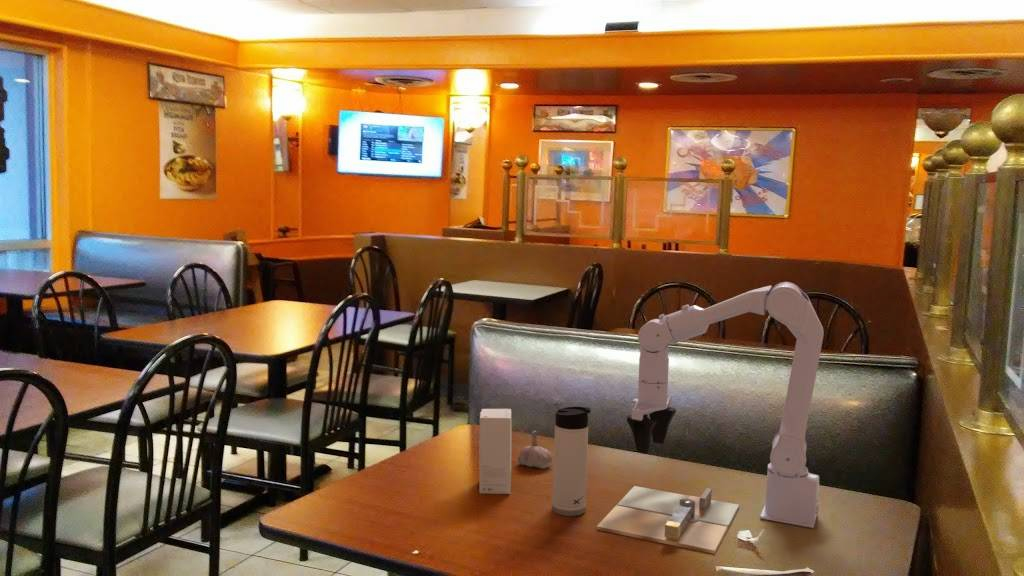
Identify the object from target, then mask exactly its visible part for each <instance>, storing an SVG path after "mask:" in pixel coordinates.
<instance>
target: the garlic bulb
mask: <svg viewBox="0 0 1024 576" xmlns="http://www.w3.org/2000/svg"><path fill="white" fill-rule="evenodd" d="M531 437H532V438H531V442H532V443H531V445H526V446H524V447H523V448H522V449H521V450H520V452H519V454H518V455H517V461H518V463H519V464H520V465H521V466H526V467H529V468H532V467H533V468H538V469H546V468H547V467H550V466H551V465H552V464H553V462H554V456H553V455H552V453H551V452H550V451H549V449H547V448H544V447H542V446H539V445H538V438H537V431H536V430H533V431H532V433H531Z"/></svg>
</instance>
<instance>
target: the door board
mask: <svg viewBox="0 0 1024 576" xmlns="http://www.w3.org/2000/svg"><path fill="white" fill-rule="evenodd" d="M712 491H713V490H712V488H710V487H706V488H705V490H704V491H703V492H702V494H701V495H700V496H694V495H688V494H683V493H682V494H681V493H675V492H670V491H664V490H658V489H653V488H648V487H642V486H636V485H634V486H633V487H632V488H631V489H629V491H628V492H627V493H626V494H625V495H623V498H621V500H619V502H618V503H616V505H615V506H614V507H613V508H612V509H611V510H610V511H609V513H608V514H606V516H605V517H604V518H602V520H601V521H600V522H599V523H598V524H597V526H596V530H599V531H602V532H608V533H611V534H612V533H613V534H618V535H622V536H627V537H632V538H635V539H641V540H645V541H651V542H656V543H661V544H666V545H671V546H674V547H680V548H684V549H689V550H695V551H699V552H703V553H709V554H712V555H715V554H716V552H717V551H718V548H719V546H720V545H721V543H722V540H723V539H724V537H725V535H726V533H727V531H728V529H729V527H730V526H731V523H732V521H733V520H734V518H735V516H736V514H737V512H738V510H739V509H740V504H738V503H737V504H736V503H731V502H726V501H720V500H714V499H712ZM681 499H691V500H694V501H695V516H694V517H693V518H691V519H690V521H689V523H688V524H687V526H686V527H685V529H684V530H683V532H682V533H681V535H680V536H679V538H678V540H676V539H671V538H666V537H665V524H666V523H667V521H668V520H669V519H670V518H671V516H672V515H673V513H674V512H675V511H676V509H677V508H678V507H679V505H680V500H681Z"/></svg>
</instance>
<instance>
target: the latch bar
mask: <svg viewBox="0 0 1024 576" xmlns="http://www.w3.org/2000/svg"><path fill="white" fill-rule="evenodd" d="M694 516H695V501H694V500H691V499H681V500H680V505H679V507H678V508H677V509H676V511H675V512H674V513H673V515H672V516H671V518H670V519H669V520H668V521H667V523H666V524H665V537H666V538H671V539H676V540H678V538H679V536H680V535H681V533H682V532H683V530H684V529H685V527H686V526H687V524H688V523H689V521H690V519H691V518H693V517H694Z"/></svg>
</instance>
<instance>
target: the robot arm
mask: <svg viewBox="0 0 1024 576" xmlns="http://www.w3.org/2000/svg"><path fill="white" fill-rule="evenodd" d="M766 312H768V314H769V315H770V316H771V317H772V319H775V320H776V321H777V322H780V323H781V324H783V325H784V326H786V328H787V330H789V331H790V333H791V334H792V335H793V336H794V337H795V339H796V341H795V347H794V353H793V357H792V363H791V368H790V373H789V379H788V385H787V391H786V396H785V402H784V405H783V406H784V408H783V413H782V419H781V423H780V429H779V431H778V432H777V433H776V434H775V436H774V437H773V439H772V444H771V445H772V446H771V447H772V448H771V450H770V455H769V461H770V462H769V463H768V464H767V471H766V472H767V475H766V478H767V479H766V487H765V488H766V489H765V490H766V491H765V504H764V506H763V508H762V511H761V513H760V515H759V516H760V517H759V518H760V519H761V520H767V521H768V520H769V521H773V522H779V523H783V524H788V525H794V526H800V527H805V528H811V529H813V528H814V527H815V524H816V520H817V517H818V515H819V510H820V508H819V507H820V506H819V492H820V491H819V490H820V475H818V474H815V473H811V472H809V468H808V466H807V467H806V464H807V455H806V453H807V449H808V445H807V441H806V433H807V432H806V431H807V427H808V419H809V416H810V410H811V406H812V405H811V404H812V399H813V394H814V390H815V389H814V388H815V382H816V377H817V371H818V367H819V361H820V356H821V350H822V345H823V340H824V335H825V333H824V332H825V331H824V327H823V325H822V322H821V321H820V319H819V317H818V315H817V312H816V310H815V308H814V307H813V304H812V302H811V300H810V298H809V296H808V295H807V293H805V292H804V290H802V289H801V288H800V286H798V284H797V285H796V283H793V282H789V281H783V282H779V283H776V284H775V285H774V286H773V287H772V285H767V286H763V287H760V288H755V289H751V290H748V291H746V292H744V293H741V294H739V295H735V296H733V297H732V298H728V299H725V300H724V301H721V302H718V303H716V304H713V305H711V306H709V307H706V308H703V307H701V306H698V305H697V304H696V305H695V304H694V305H691V306H690V305H689V304H685V305H682V306H681V309H680V310H678V311H675V312H672V313H669V314H664V313H662V314H660V315H659V316H658V318H654V319H651V320H649V321H648V322H646V323H645V324H643V325H642V326H641V327H640V329H639V331H638V333H637V341H638V343H639V345H640V349H639V352H640V353H639V354H640V355H639V357H638V358H639V360H638V361H639V362H638V385H637V387H638V389H637V398H634V399H632V401H631V404H633V405H634V407H633V408H632V409H631V414H629V415H627V416H626V422H627V423H628V425H629V427H630V429H631V432H632V436H633V439H634V444H635V448H636V449H635V450H636V453H641V454H645V455H647V454H648V453H649V450H650V448H651V447H650V446H651V439H652V442H653V443H656V444H660V445H663V444H665V440H666V437H667V433H668V430H669V427H670V424H671V422H672V419H673V417H674V416H675V414H676V412H677V409H676V408H675V407H669V406H672V395H668V391H669V390H668V387H669V386H668V385H669V365H670V364H669V363H670V359H669V358H670V357H669V344H675V345H676V344H678V343H681V342H683V341H687V340H690V339H692V338H695V337H698V336H701V335H703V334H704V335H705V334H706V333H707V332H708V329H709V326H710V325H712V324H715V323H719V322H720V321H725V320H727V319H731V318H734V317H737V316H741V315H743V314H746V313H753V314H757V315H761V316H765V314H766Z"/></svg>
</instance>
